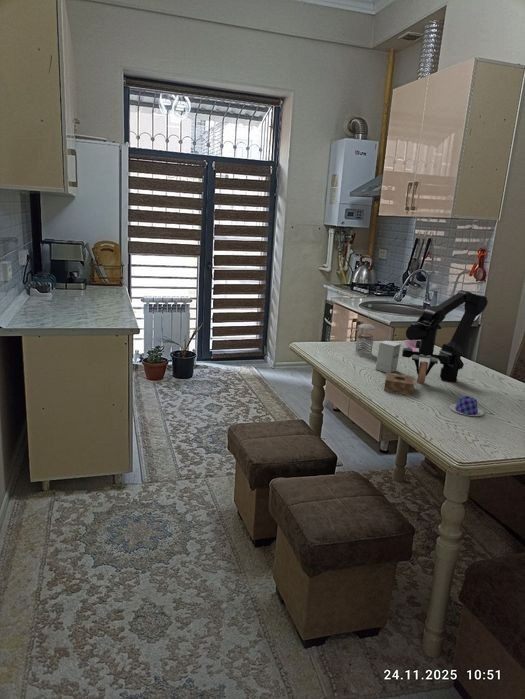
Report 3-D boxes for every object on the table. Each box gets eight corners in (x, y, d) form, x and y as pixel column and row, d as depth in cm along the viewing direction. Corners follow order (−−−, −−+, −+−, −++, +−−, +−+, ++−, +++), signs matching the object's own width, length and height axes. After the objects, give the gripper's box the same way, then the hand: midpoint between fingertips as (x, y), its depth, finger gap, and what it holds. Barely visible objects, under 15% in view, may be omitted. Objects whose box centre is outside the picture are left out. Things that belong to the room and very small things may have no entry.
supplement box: (390, 373, 237) (394, 346, 233) (374, 369, 241) (378, 342, 238) (397, 370, 242) (401, 343, 239) (381, 366, 247) (386, 339, 243)
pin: (424, 382, 229) (428, 361, 227) (424, 384, 226) (428, 363, 224) (416, 380, 230) (420, 360, 227) (416, 383, 227) (420, 362, 224)
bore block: (412, 387, 221) (413, 376, 220) (412, 395, 210) (414, 384, 209) (385, 382, 223) (386, 372, 222) (383, 390, 213) (385, 380, 212)
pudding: (453, 403, 207) (456, 390, 206) (486, 411, 201) (489, 398, 199) (445, 411, 197) (447, 398, 196) (479, 420, 191) (482, 406, 190)
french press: (373, 358, 260) (380, 307, 253) (349, 354, 262) (355, 304, 255) (373, 353, 269) (380, 303, 262) (350, 349, 271) (356, 301, 264)
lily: (400, 351, 282) (398, 337, 276) (420, 343, 282) (419, 329, 277) (410, 364, 272) (409, 350, 266) (432, 356, 273) (431, 342, 267)
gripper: (450, 338, 228) (443, 373, 232) (405, 332, 233) (399, 366, 237) (452, 344, 218) (445, 380, 222) (405, 337, 222) (399, 373, 226)
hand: (421, 374), depth 227 cm, fingers closed on pin, 3 cm apart
